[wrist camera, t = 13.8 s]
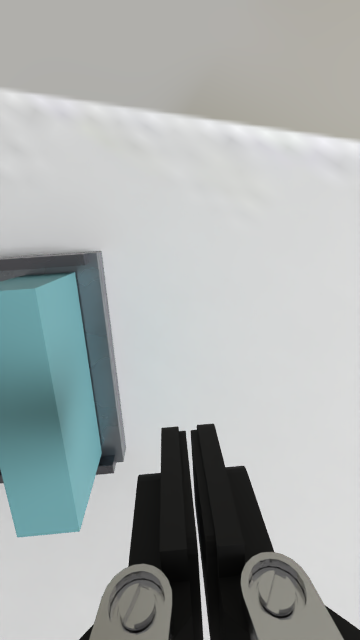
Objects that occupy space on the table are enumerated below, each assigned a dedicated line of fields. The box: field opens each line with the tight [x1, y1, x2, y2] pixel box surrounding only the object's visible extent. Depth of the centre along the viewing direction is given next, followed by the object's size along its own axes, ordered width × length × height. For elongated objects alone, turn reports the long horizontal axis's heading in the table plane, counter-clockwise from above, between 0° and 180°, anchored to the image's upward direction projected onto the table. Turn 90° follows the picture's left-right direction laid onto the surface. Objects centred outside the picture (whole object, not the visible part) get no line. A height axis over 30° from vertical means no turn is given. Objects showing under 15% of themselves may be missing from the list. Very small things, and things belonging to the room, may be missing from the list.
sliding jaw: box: [0, 272, 102, 537], centre depth 17 cm, size 12×3×6 cm, turn 4°
